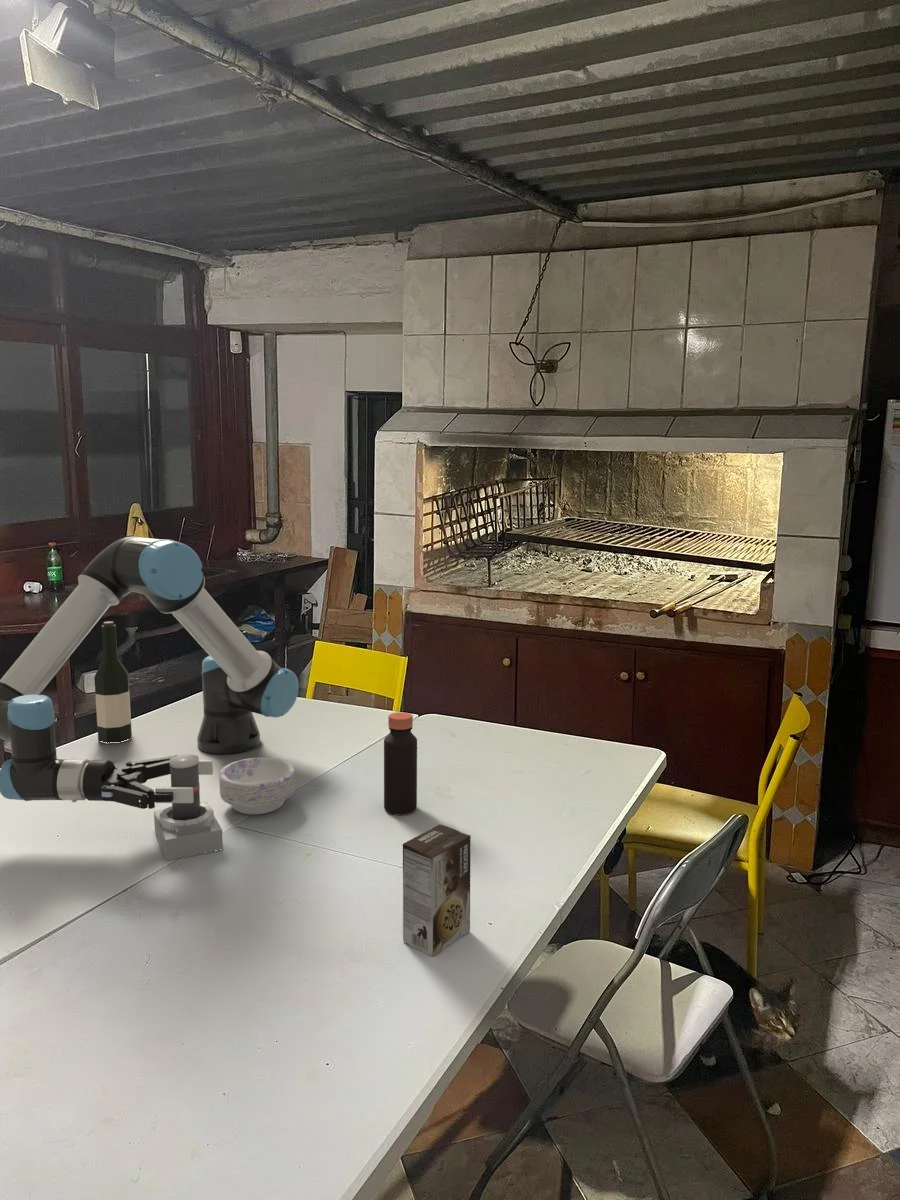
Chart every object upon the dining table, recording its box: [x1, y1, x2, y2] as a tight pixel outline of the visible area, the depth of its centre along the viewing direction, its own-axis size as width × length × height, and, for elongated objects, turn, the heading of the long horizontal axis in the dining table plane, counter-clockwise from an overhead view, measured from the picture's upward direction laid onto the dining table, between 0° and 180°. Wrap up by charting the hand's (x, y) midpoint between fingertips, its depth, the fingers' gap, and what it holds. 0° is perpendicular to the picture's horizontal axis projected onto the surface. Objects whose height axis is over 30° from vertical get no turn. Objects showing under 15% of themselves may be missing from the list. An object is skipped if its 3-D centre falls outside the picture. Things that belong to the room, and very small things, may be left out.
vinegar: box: [383, 711, 418, 816], centre depth 178 cm, size 7×7×20 cm
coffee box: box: [402, 823, 472, 957], centre depth 132 cm, size 9×6×16 cm
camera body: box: [153, 801, 224, 861], centre depth 165 cm, size 10×14×6 cm
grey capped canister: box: [169, 753, 201, 820], centre depth 163 cm, size 5×5×12 cm
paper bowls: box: [218, 756, 296, 816], centre depth 180 cm, size 15×15×8 cm
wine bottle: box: [94, 620, 133, 743], centre depth 218 cm, size 8×8×30 cm
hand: (203, 780), depth 163 cm, fingers open, 13 cm apart
